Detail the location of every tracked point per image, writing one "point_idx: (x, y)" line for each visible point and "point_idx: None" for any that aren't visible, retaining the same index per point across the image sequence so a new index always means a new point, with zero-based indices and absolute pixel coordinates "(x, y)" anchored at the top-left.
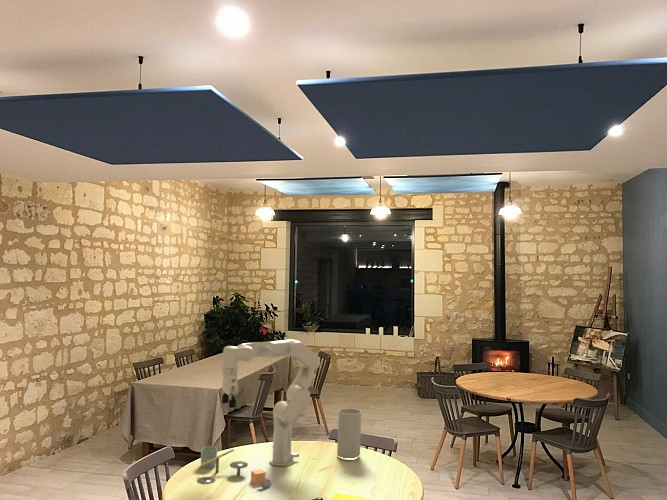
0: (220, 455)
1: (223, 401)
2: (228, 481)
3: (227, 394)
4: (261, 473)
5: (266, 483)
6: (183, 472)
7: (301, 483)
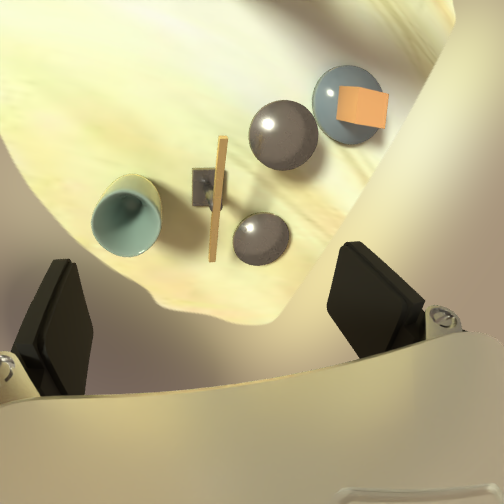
0: (218, 197)
1: (89, 341)
2: None
3: (22, 366)
4: (386, 108)
5: (371, 89)
6: (137, 274)
7: (394, 6)
